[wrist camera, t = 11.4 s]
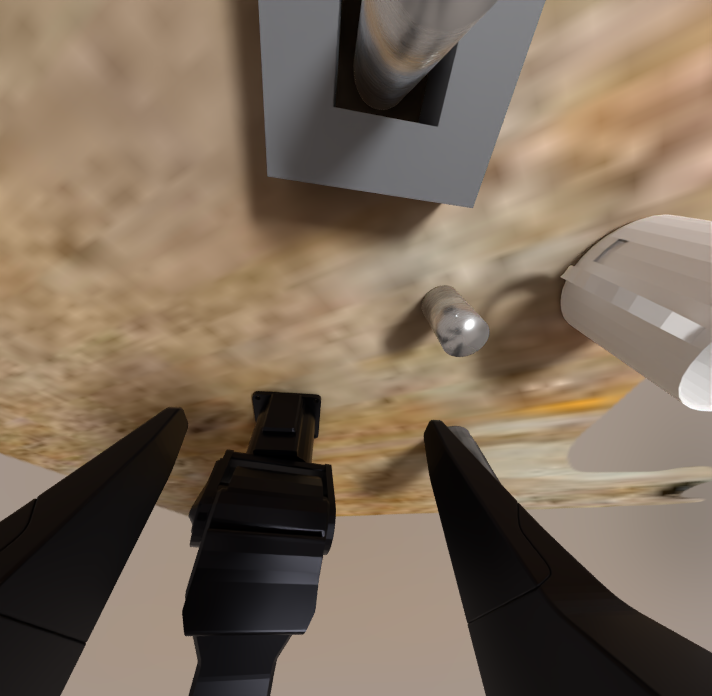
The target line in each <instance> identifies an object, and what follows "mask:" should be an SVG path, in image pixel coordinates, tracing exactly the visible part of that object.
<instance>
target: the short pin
mask: <svg viewBox="0 0 712 696" xmlns="http://www.w3.org/2000/svg"><path fill="white" fill-rule="evenodd" d="M422 312H423V314H424V315H425V317H426V319H427V321H428V323H429V324H430V326H431V328H432V330H433V331H434V333H435V335H436V337H437V339H438V340H439V342H440V344H441V346H442V347H443V349H444V351H445V352H446V353H447V354H449V355H451V356H455V357H463V356H468V355H471V354H473V353H475V352H476V351H478V350H479V349H480V348H482V347H483V346H484V344H485V343H486V341H487V340H488V337H489V326H488V325H487V323H486V322H485V321H484V320H483V319H482V318H481V317H480V315H479V314H478V313H477V312H476V311H475V310H474V309H473V308H472V307H471V306H470V305H469V304H468V302H467V301H466V300H465V299H464V298H463V297H462V296H461V295H460V294H459V293H458V292H457V291H456V290H455V289H454V288H453V287H450V286H445V285H444V286H438V287H435V288H433V289H432V290H430V291H429V292H428V293H427V294H426V295H425V297H424V299H423V301H422Z"/></svg>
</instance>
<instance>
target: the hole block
mask: <svg viewBox="0 0 712 696" xmlns="http://www.w3.org/2000/svg"><path fill="white" fill-rule="evenodd" d="M545 1H546V0H498V1H497V2H496V3H495V4H494V5H493V6H492V7H491V8H490V9H489V10H488V11H487V13H486V14H485V15H484V16H483V17H482V18H481V19H480V20H479V21H478V22H477V23H476V24H475V25H474V26H473V27H472V28H471V29H470V30H469V31H468V32H467V33H466V34H465V35H464V36H463V37H462V38H461V39H460V40H459V41H458V42H457V43H456V45H455V46H454V47H453V48H452V49H451V50H450V51H449V52H448V53H447V54H446V55H445V56H444V57H443V58H442V59H441V60H440V61H439V62H438V63H437V64H436V65H435V66H434V67H433V68H432V69H431V70H430V71H429V73H428V78H427V83H426V88H425V93H424V97H423V102H422V107H421V112H420V117H419V121H418V123H415V122H410V121H404V120H399V119H394V118H389V117H383V116H378V115H373V114H368V113H363V112H357V111H352V110H347V109H342V108H336V107H335V105H336V90H337V75H338V60H339V44H340V29H341V14H342V0H258V4H259V23H260V42H261V62H262V81H263V100H264V119H265V138H266V158H267V176H268V177H275V178H281V179H288V180H294V181H300V182H307V183H313V184H320V185H326V186H333V187H339V188H346V189H352V190H359V191H365V192H372V193H378V194H385V195H391V196H398V197H404V198H410V199H417V200H423V201H430V202H436V203H443V204H449V205H456V206H462V207H469V208H473V206H474V203H475V200H476V198H477V195H478V192H479V189H480V186H481V183H482V180H483V178H484V175H485V172H486V169H487V166H488V163H489V160H490V158H491V155H492V152H493V149H494V146H495V143H496V140H497V138H498V135H499V132H500V129H501V126H502V123H503V121H504V118H505V115H506V112H507V109H508V106H509V103H510V101H511V98H512V95H513V92H514V89H515V86H516V83H517V81H518V78H519V75H520V72H521V69H522V66H523V63H524V61H525V58H526V55H527V52H528V49H529V46H530V44H531V41H532V38H533V35H534V32H535V29H536V26H537V24H538V21H539V18H540V15H541V12H542V9H543V6H544V4H545Z"/></svg>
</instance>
